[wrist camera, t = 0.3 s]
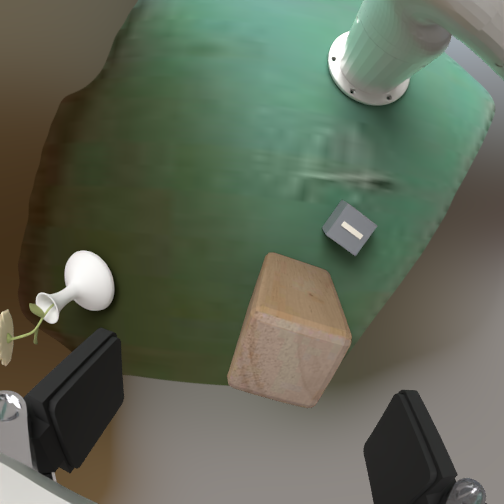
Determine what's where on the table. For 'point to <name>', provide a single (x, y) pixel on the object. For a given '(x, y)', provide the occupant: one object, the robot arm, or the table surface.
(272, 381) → the wooden block
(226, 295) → the table surface
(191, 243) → the table surface
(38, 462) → the robot arm
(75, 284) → the flower in vase
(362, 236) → the charcoal block marked 1
